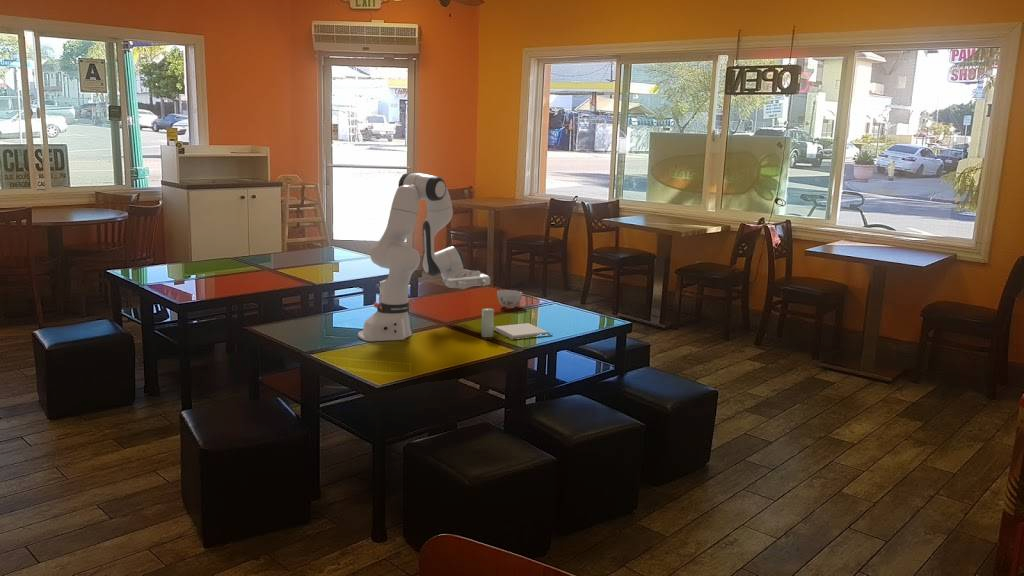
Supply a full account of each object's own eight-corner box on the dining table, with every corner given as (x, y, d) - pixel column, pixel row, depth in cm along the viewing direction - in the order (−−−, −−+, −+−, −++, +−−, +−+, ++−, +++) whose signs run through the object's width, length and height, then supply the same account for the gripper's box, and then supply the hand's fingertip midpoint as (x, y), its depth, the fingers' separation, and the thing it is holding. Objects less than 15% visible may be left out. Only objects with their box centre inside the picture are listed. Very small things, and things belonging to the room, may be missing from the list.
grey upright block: (484, 338, 334) (485, 311, 331) (479, 336, 338) (480, 308, 336) (495, 337, 336) (495, 310, 334) (489, 335, 340) (490, 307, 338)
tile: (511, 340, 333) (511, 336, 332) (490, 329, 350) (490, 326, 350) (552, 335, 342) (552, 332, 342) (529, 325, 359) (529, 322, 359)
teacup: (513, 311, 386) (513, 295, 385) (491, 308, 393) (492, 292, 391) (528, 306, 399) (529, 290, 397) (507, 303, 405) (508, 287, 404)
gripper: (440, 273, 351) (453, 279, 339) (482, 270, 360) (495, 275, 348) (440, 287, 352) (453, 293, 340) (481, 284, 362) (495, 289, 350)
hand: (475, 284), depth 344 cm, fingers open, 8 cm apart
